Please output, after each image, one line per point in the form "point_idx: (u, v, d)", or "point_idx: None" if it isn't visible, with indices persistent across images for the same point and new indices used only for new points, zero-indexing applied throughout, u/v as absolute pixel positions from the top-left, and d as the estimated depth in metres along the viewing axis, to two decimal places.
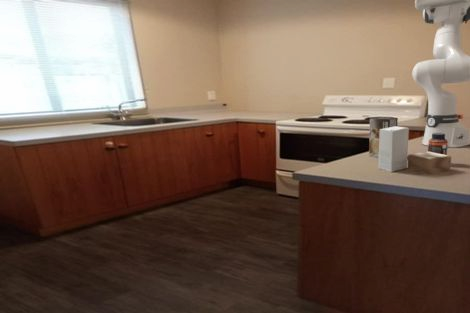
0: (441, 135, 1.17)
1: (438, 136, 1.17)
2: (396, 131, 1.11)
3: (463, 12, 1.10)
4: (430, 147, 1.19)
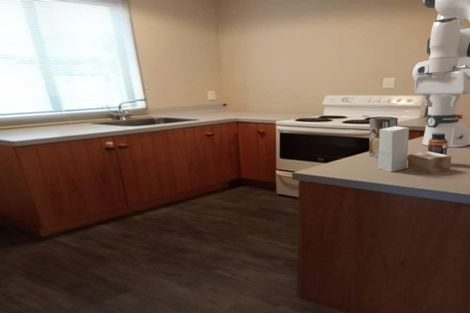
0: (441, 135, 1.17)
1: (438, 136, 1.17)
2: (396, 131, 1.11)
3: (450, 107, 1.12)
4: (430, 147, 1.19)
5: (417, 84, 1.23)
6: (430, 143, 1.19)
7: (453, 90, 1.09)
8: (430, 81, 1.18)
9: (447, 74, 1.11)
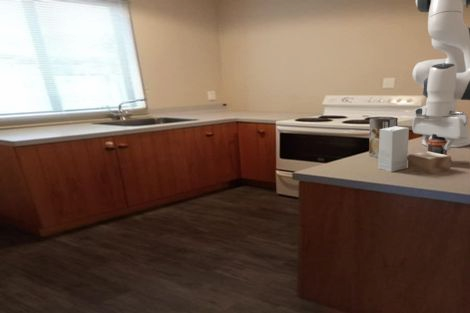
0: None
1: None
2: (396, 131, 1.11)
3: (444, 149, 1.16)
4: (430, 147, 1.19)
5: (415, 124, 1.26)
6: (430, 143, 1.19)
7: (450, 134, 1.12)
8: (427, 123, 1.21)
9: (444, 118, 1.14)
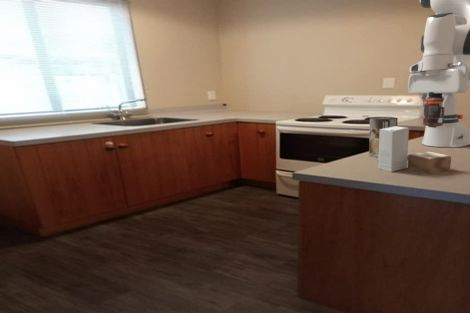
0: (438, 93, 1.08)
1: (435, 93, 1.08)
2: (396, 131, 1.11)
3: (442, 107, 1.07)
4: (426, 106, 1.10)
5: (410, 83, 1.17)
6: (426, 102, 1.10)
7: (448, 88, 1.03)
8: (423, 80, 1.12)
9: (442, 72, 1.05)
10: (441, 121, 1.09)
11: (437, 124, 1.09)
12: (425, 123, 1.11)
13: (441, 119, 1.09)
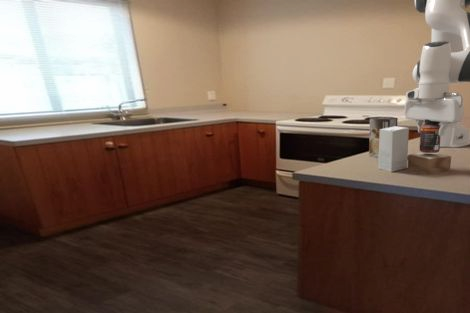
0: None
1: (431, 121, 1.09)
2: (396, 131, 1.11)
3: (438, 134, 1.08)
4: (422, 133, 1.11)
5: (407, 108, 1.17)
6: (422, 129, 1.11)
7: (444, 118, 1.04)
8: (420, 107, 1.12)
9: (437, 101, 1.05)
10: (437, 148, 1.10)
11: (433, 151, 1.10)
12: (421, 150, 1.12)
13: (437, 146, 1.10)
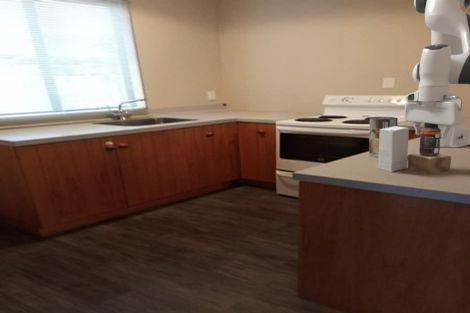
0: None
1: (431, 124, 1.09)
2: (396, 131, 1.11)
3: (441, 137, 1.07)
4: (422, 137, 1.11)
5: (407, 111, 1.17)
6: (422, 132, 1.11)
7: (444, 120, 1.04)
8: (420, 109, 1.13)
9: (437, 104, 1.06)
10: (437, 151, 1.10)
11: (433, 154, 1.10)
12: (421, 153, 1.12)
13: (437, 149, 1.10)
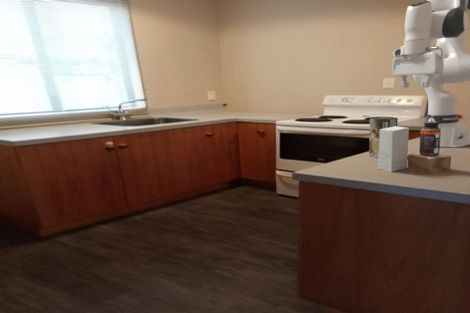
0: (434, 123, 1.09)
1: (431, 124, 1.09)
2: (396, 131, 1.11)
3: (424, 86, 1.19)
4: (422, 137, 1.11)
5: (394, 66, 1.29)
6: (422, 132, 1.11)
7: (426, 70, 1.16)
8: (405, 63, 1.24)
9: (420, 55, 1.17)
10: (437, 151, 1.10)
11: (433, 154, 1.10)
12: (421, 153, 1.12)
13: (437, 149, 1.10)
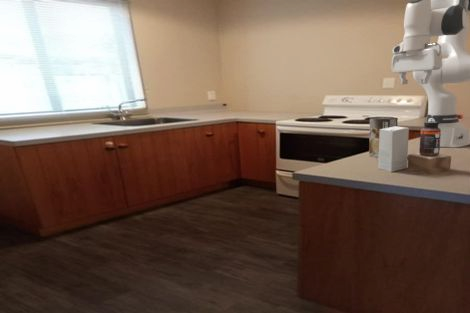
0: (434, 123, 1.09)
1: (431, 124, 1.09)
2: (396, 131, 1.11)
3: (423, 83, 1.19)
4: (422, 137, 1.11)
5: (394, 63, 1.30)
6: (422, 132, 1.11)
7: (425, 66, 1.16)
8: (405, 60, 1.25)
9: (419, 52, 1.18)
10: (437, 151, 1.10)
11: (433, 154, 1.10)
12: (421, 153, 1.12)
13: (437, 149, 1.10)
